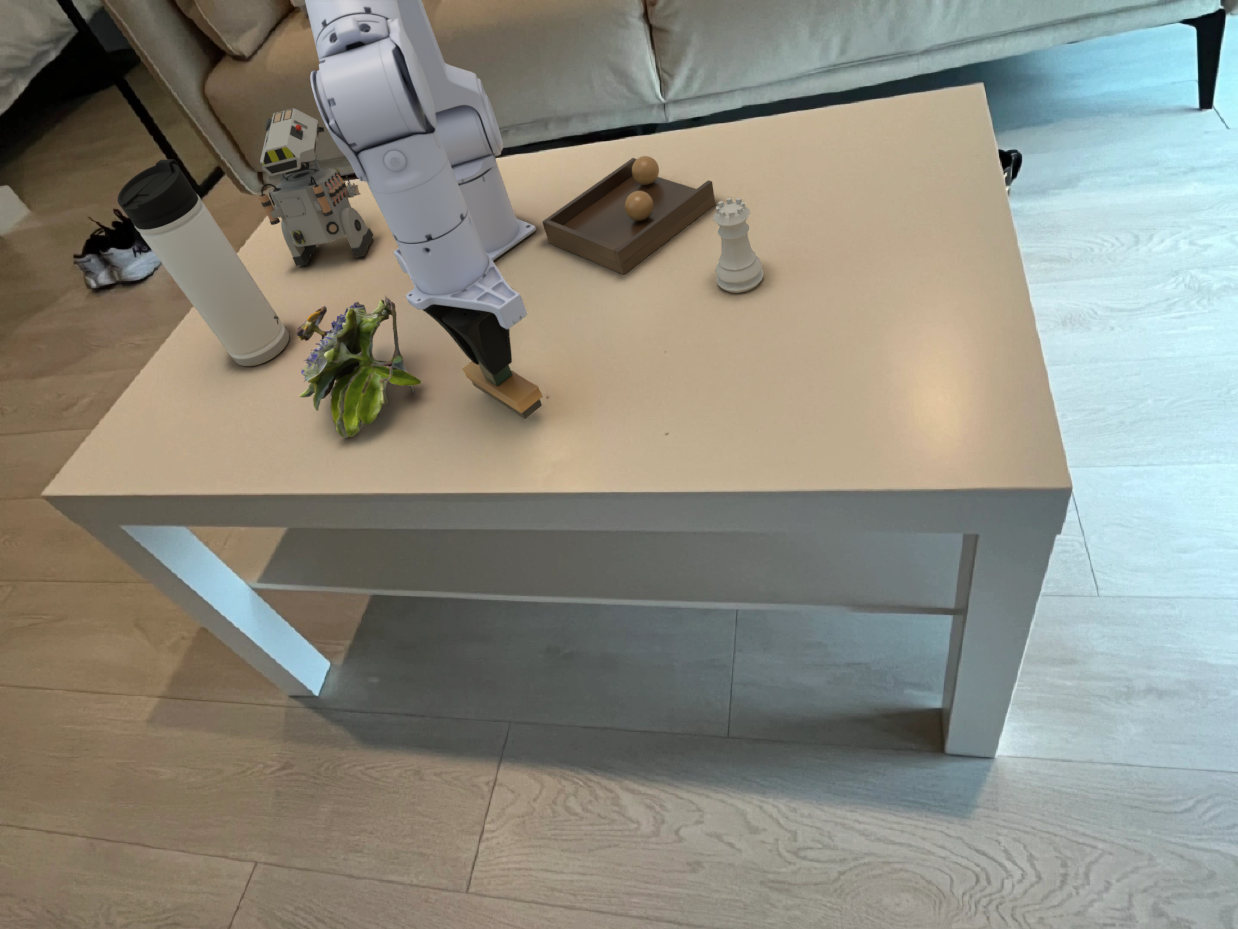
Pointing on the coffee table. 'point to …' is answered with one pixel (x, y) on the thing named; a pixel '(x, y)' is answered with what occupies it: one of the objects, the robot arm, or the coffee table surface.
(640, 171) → the cork ball
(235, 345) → the travel mug
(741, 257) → the rook chess piece
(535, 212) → the coffee table surface
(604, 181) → the tray
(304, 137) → the figurine
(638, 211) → the cork ball
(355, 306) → the passion flower
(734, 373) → the coffee table surface
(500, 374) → the brush
